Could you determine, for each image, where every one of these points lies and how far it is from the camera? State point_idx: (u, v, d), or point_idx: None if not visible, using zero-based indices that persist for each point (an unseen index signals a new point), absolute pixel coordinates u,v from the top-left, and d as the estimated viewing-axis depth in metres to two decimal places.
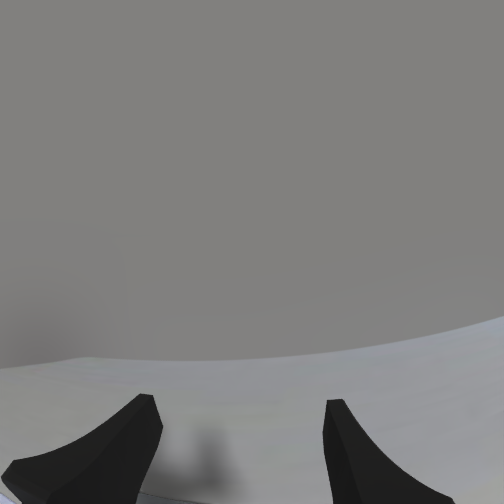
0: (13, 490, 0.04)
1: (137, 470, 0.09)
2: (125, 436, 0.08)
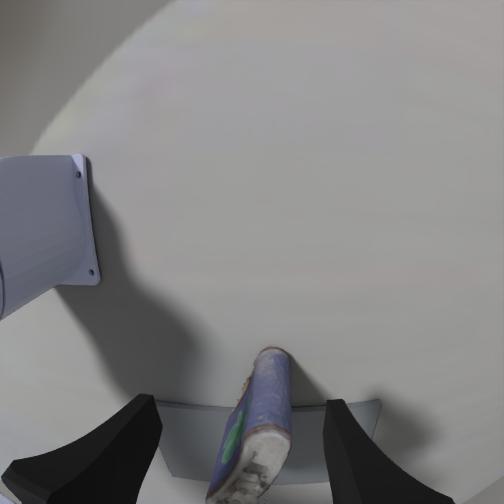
0: (13, 490, 0.04)
1: (137, 470, 0.09)
2: (125, 436, 0.08)
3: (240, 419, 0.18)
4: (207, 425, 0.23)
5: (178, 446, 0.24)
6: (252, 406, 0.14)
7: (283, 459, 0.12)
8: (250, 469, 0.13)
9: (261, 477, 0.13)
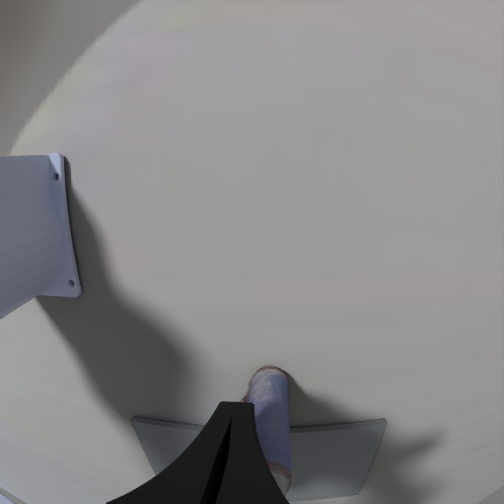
0: None
1: None
2: (222, 451, 0.08)
3: None
4: None
5: (170, 463, 0.21)
6: None
7: None
8: None
9: None
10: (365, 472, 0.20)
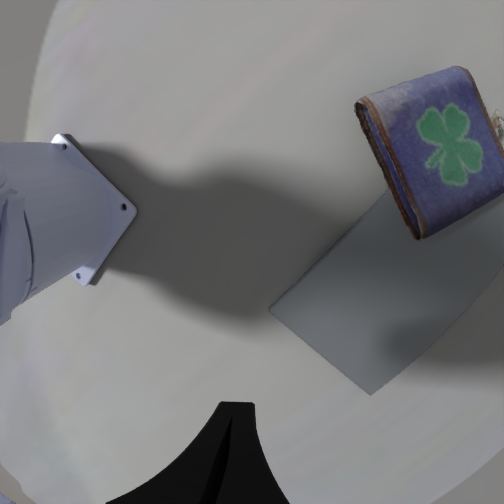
0: None
1: None
2: (222, 451, 0.08)
3: (438, 152, 0.15)
4: (347, 273, 0.19)
5: (344, 338, 0.21)
6: (447, 80, 0.13)
7: None
8: None
9: None
10: None
